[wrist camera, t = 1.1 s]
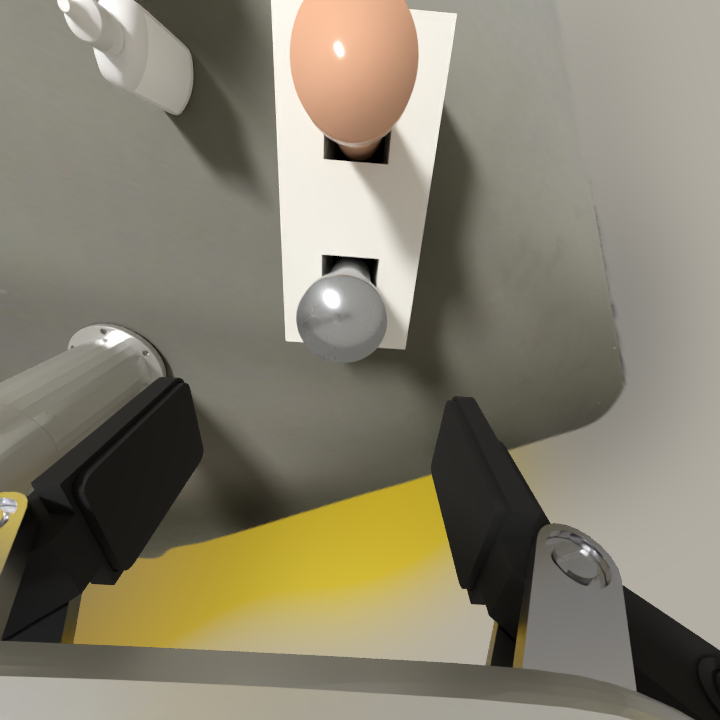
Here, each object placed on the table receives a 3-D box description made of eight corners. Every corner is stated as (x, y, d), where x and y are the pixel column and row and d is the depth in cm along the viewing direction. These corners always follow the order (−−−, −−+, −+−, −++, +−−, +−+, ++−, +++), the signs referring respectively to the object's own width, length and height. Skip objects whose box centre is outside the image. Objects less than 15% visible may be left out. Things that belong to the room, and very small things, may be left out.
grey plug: (375, 304, 32) (382, 366, 20) (323, 300, 32) (297, 360, 20) (380, 249, 30) (392, 280, 17) (324, 245, 30) (294, 272, 17)
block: (395, 317, 39) (405, 349, 30) (303, 310, 39) (285, 341, 30) (427, 74, 28) (457, 13, 19) (300, 63, 28) (270, -5, 19)
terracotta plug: (388, 174, 27) (408, 145, 14) (325, 169, 27) (291, 135, 14) (395, 94, 24) (429, -26, 12) (326, 87, 24) (287, -40, 12)
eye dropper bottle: (212, 82, 29) (123, 9, 18) (173, 123, 30) (69, 77, 20) (177, 30, 27) (56, -84, 17) (137, 76, 29) (3, -2, 18)
